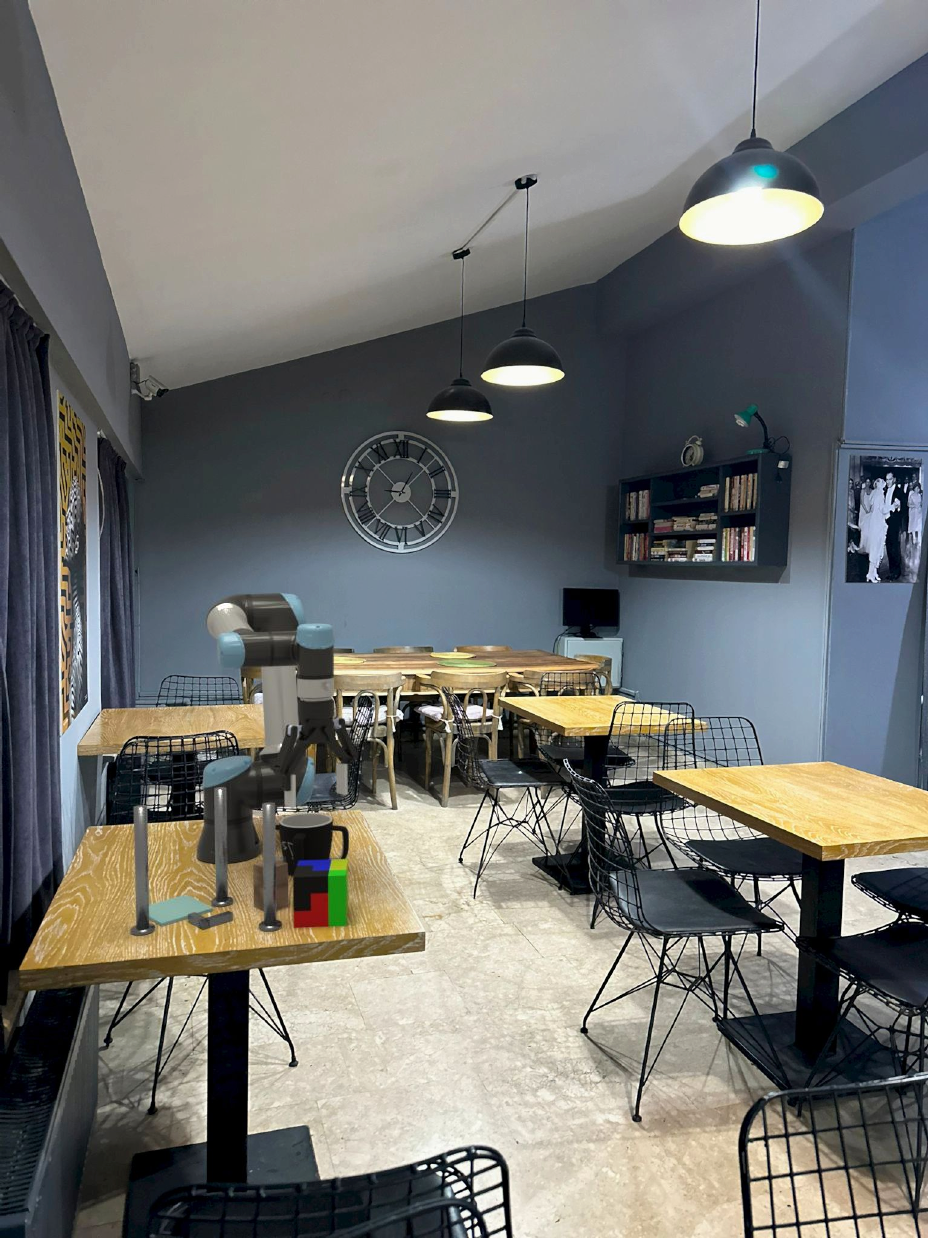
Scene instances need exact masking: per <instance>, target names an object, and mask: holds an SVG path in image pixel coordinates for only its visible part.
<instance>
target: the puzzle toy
mask: <svg viewBox="0 0 928 1238" xmlns="http://www.w3.org/2000/svg"><path fill="white" fill-rule="evenodd" d="M292 884H293V885H292V892H293V893H292V895H293V896H292V897H293V900H292V901H293V906H292V907H293V928H294V929H301V928H325V927H327V928H330V927H332V928H333V927H346V926H347V921H348V913H349V908H350V907H349V858H346V859H333V860H300V861H298V864H297V867H296V870H295V873H294V875H292Z"/></svg>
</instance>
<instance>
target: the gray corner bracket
mask: <svg viewBox="0 0 928 1238" xmlns="http://www.w3.org/2000/svg"><path fill="white" fill-rule="evenodd" d="M233 920H234V912H232V911H230V910H227V911H224V912H220V913H217V914H212V915H210V916H208V917H205V916H203V914H201V915H200V914H198V913H196V912H193V913H190V914H188V919H187V922H188V923H190V924H192V925H193V926H195V927H197V928H199V929H201V930H205V929H207V930H208V929H209V928H213V927H215V926H219V925H222V924H225V923H229V922H232V921H233Z"/></svg>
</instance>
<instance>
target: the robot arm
mask: <svg viewBox="0 0 928 1238" xmlns="http://www.w3.org/2000/svg"><path fill="white" fill-rule="evenodd" d="M306 621H307V620H306V614H305V610H304V605H303V604H302V601H301V599H300V598H299V596H297V595H296V594H293V593H282V592H278V593H277V592H276V593H238V594H237V593H236V594H232V595H228V596H226V597H223V598H221V599H220V600H218V601H216V602H215V603H213V605H212V606H210V608H209V610H208V612H207V613H206V617H205V625H206V628H207V631H208V633H209V634H210V635H211V636H212V637H213V639H215V640H216V659H217V663H218V666H219V667H220V668H221V669H234V670H238V669H248V668H261V669H260V670H261V687H262V689H261V690H262V691H261V692H262V706H263V707H262V708H263V709H262V710H263V711H262V712H263V726H264V728H263V729H264V748H263V749H262V750H261V751H260V752H259V761H254V759H253V758H252V757H251V756H249V755H234V756H229V757H223V758H220V759H219V758H218V759H217V760H214V761H212V762H210V763H208V764H207V765H206V766H205V767H204V769H203V772H202V773H203V774H202V777H203V778H202V783H201V786H202V788H203V827H202V828H201V829H202V830H201V831H200V832H201V833H200V836H199V839H198V842H197V844H196V845H197V847H196V858H197V860H199V861H201V862H204V863H209V864H215V805H214V789H215V788H219V787H225V788H226V800H227V864H231V863H238V862H243V861H247V860H250V859H251V860H252V859H253V858H256V857H257V856H258V855H260V854H261V849H262V848H261V841H260V838H259V834H258V832H257V828H256V826H255V823H254V817H253V815H254V811H253V810H261V809H262V804H264V803H275V808H283V807H288V808H292V809H293V808H297V806H298V805H304V804H306V803H308V802H309V801H310V799H311V797H312V794H313V791H314V786H315V785H314V784H315V770H316V769H315V761H314V758H312V757H311V756H308V755H307V750H308V748H310V747H311V745H317V744H319V743H322V744H324V743H326V745H327V746H328V748H329V749H330V750H331V752H332V753H333V754H334V755H335V757H336V758H337V759H338V761H339V762H336V794H341V795H344V796H346V795H348V791H349V790H348V778H350V765H352V764H354V763H353V762H354V760H356V759H357V758H358V753H357V752H356V749H355V747H354V744H353V742H352V740H351V739H352V738H351V737H350V734H349V732H348V730H347V726H346V719H345V718H343V717H337V716H335V700H334V699H333V698H332V697H334V695H335V677H334V675H335V666H334V665H335V657H334V656H335V655H334V654H335V646H334V645H335V637H334V628H333V626H332V625H331V624H328V623H306ZM296 669H297V670H296ZM296 671H297V672H296ZM298 698H299V699H298ZM334 716H335V717H334ZM333 717H334V718H333ZM333 729H334V732H335V734H334V733H333V732H332V730H333ZM337 739H338V740H337Z"/></svg>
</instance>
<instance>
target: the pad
mask: <svg viewBox="0 0 928 1238" xmlns="http://www.w3.org/2000/svg"><path fill="white" fill-rule="evenodd" d="M193 912H196V913H198V914H200V915H204V914H207V913H211V912H214V907H213V906H210V905H208V904H206V903H204V902H202V901H200V900H198V899H196V898H195V897H192V896H191V895H188V894H183V895H180V896H179V895H178V896H176V897H172V898H169V899H164V900H161V901H158V902H154V903H151V904H150V903H149V921H152V922H153V923H155V924H157V925H158V926H160V927H164V926H168V925H171V924H174V923H178V922H181V921H184V920H188V914H190V913H193Z"/></svg>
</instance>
